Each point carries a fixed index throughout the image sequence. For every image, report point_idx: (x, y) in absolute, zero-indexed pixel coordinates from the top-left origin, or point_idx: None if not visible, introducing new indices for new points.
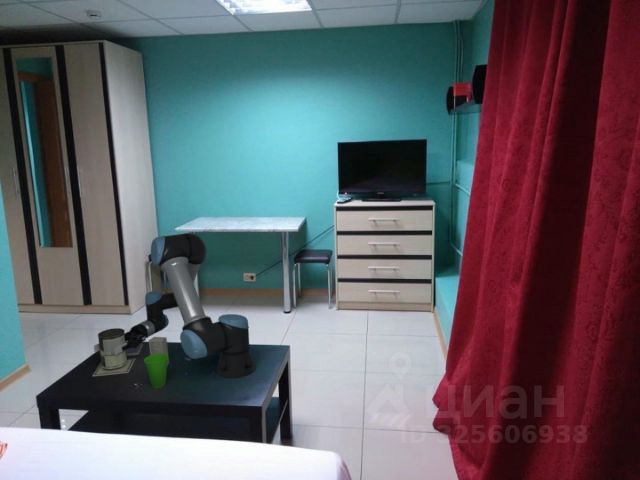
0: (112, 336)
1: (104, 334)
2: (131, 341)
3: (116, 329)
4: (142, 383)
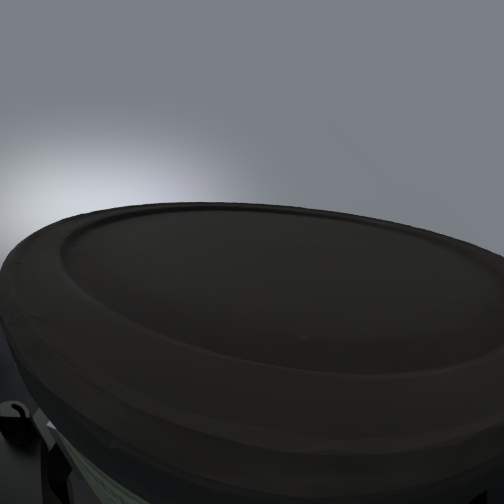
0: (170, 203)
1: (350, 227)
2: (2, 487)
3: (474, 349)
4: (16, 368)
